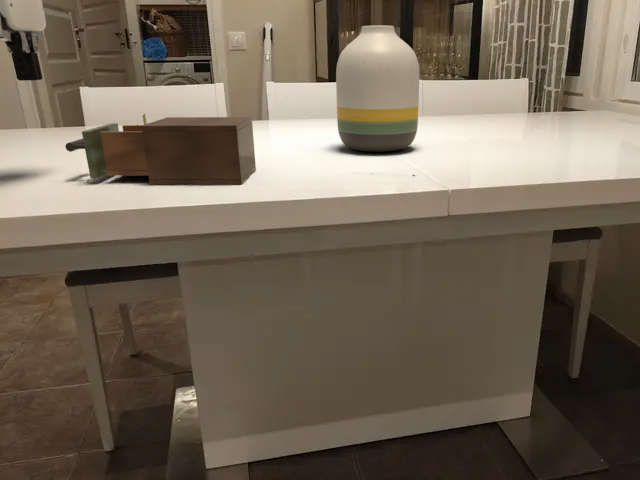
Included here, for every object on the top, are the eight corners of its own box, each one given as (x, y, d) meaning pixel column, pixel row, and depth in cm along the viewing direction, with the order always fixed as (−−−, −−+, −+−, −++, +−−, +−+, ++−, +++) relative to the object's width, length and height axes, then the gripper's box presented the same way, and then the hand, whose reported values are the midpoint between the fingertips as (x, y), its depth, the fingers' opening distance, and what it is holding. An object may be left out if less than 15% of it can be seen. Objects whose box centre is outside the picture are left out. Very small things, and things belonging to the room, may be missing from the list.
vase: (326, 154, 113) (322, 25, 105) (352, 142, 129) (350, 28, 120) (407, 157, 109) (410, 23, 100) (424, 144, 124) (428, 27, 115)
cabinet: (149, 184, 88) (140, 125, 84) (173, 170, 99) (166, 117, 95) (241, 184, 88) (236, 125, 84) (255, 170, 98) (251, 117, 95)
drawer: (64, 178, 88) (54, 131, 86) (94, 166, 98) (86, 123, 95) (174, 178, 88) (168, 131, 85) (194, 165, 98) (189, 123, 95)
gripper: (5, -45, 88) (33, 77, 95) (-63, -62, 74) (-25, 83, 81) (52, -46, 88) (76, 77, 95) (-7, -63, 74) (26, 83, 81)
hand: (30, 79), depth 88 cm, fingers closed
